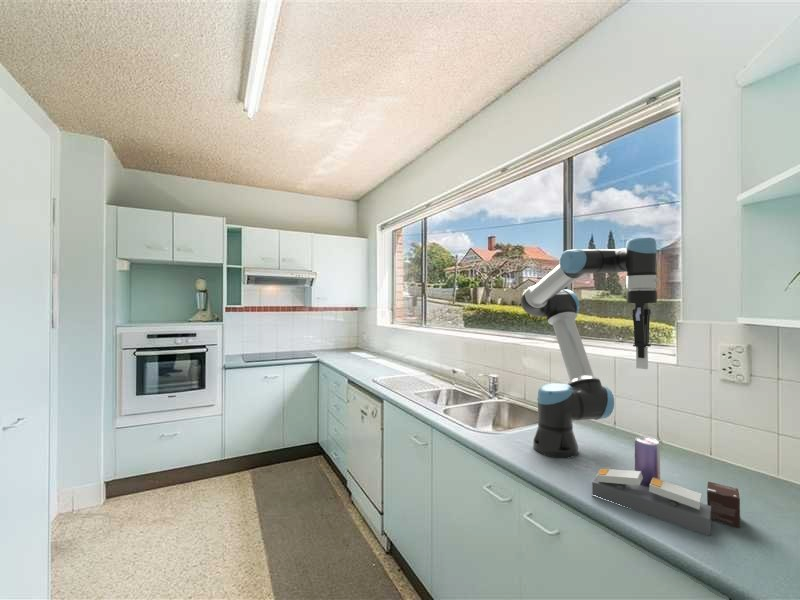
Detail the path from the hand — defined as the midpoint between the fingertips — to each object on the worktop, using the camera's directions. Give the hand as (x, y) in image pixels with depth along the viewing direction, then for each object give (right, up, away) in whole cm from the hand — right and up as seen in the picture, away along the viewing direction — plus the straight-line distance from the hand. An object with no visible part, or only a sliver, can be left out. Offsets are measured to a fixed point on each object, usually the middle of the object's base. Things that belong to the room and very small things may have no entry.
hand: (642, 368), depth 108 cm
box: (+9, -35, -17) cm, 40 cm away
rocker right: (-3, -29, -17) cm, 34 cm away
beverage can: (-2, -35, -5) cm, 35 cm away
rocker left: (-12, -29, -9) cm, 33 cm away
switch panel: (-7, -35, -13) cm, 38 cm away
